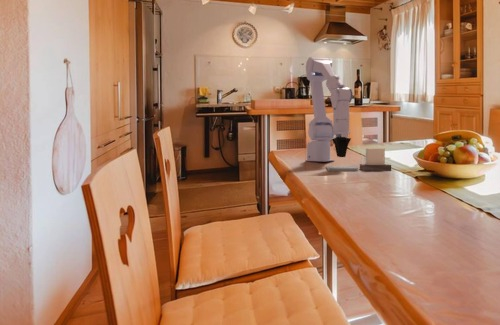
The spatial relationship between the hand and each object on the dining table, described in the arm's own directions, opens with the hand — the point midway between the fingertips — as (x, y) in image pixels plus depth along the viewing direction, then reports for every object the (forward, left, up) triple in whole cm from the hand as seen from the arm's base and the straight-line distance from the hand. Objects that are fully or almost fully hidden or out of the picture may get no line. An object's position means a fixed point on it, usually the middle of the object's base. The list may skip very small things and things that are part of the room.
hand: (341, 156), depth 123 cm
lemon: (+23, +19, -5) cm, 30 cm away
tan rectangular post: (+9, +9, -5) cm, 13 cm away
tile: (0, 0, -5) cm, 5 cm away
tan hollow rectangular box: (+9, +9, -5) cm, 13 cm away
